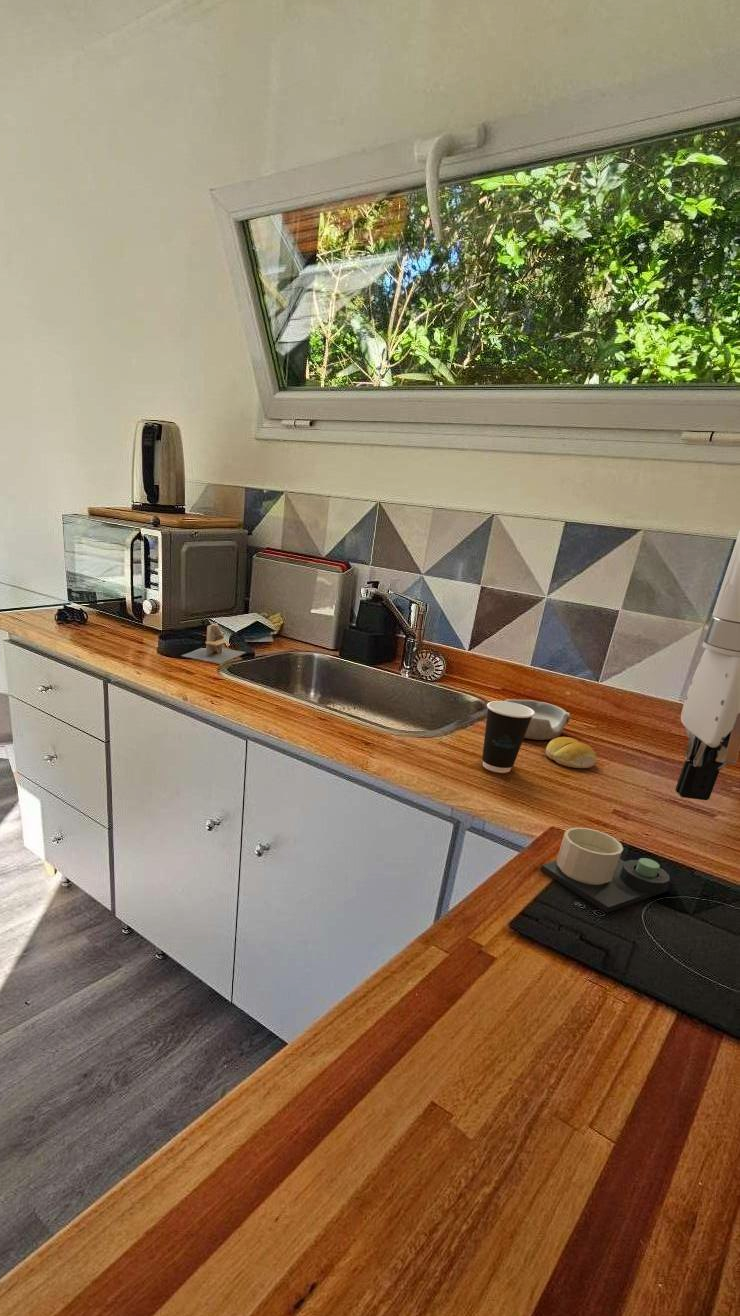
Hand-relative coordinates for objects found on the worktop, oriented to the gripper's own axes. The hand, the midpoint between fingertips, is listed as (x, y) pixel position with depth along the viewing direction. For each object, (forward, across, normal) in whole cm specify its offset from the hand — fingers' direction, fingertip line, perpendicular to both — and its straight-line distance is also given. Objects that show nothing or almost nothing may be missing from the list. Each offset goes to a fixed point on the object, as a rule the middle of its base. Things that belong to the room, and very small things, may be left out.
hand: (691, 795), depth 78 cm
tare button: (+11, +1, +2) cm, 12 cm away
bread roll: (+13, +45, +1) cm, 47 cm away
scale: (+13, +1, +6) cm, 15 cm away
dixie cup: (+13, +36, +15) cm, 41 cm away
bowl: (+12, +1, +9) cm, 15 cm away
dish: (+13, +60, +6) cm, 62 cm away
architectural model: (+11, +88, +81) cm, 120 cm away
